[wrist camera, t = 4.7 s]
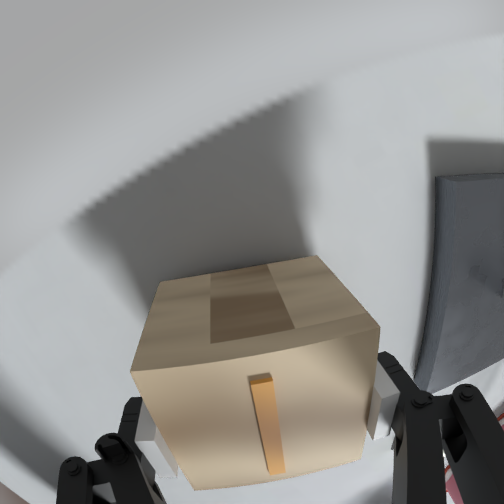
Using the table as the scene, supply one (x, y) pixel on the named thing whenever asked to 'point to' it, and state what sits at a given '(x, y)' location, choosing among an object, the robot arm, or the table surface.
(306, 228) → the table surface
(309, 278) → the taped cardboard box
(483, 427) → the robot arm
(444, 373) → the grey piece
